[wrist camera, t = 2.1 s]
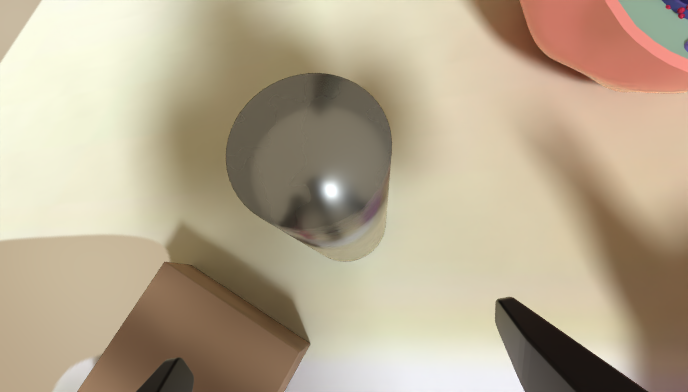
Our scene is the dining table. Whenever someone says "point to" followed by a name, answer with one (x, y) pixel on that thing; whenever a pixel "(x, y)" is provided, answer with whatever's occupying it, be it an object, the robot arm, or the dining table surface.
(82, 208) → the dining table surface
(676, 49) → the cell model
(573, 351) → the robot arm
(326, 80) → the tea tin
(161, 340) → the walnut box
